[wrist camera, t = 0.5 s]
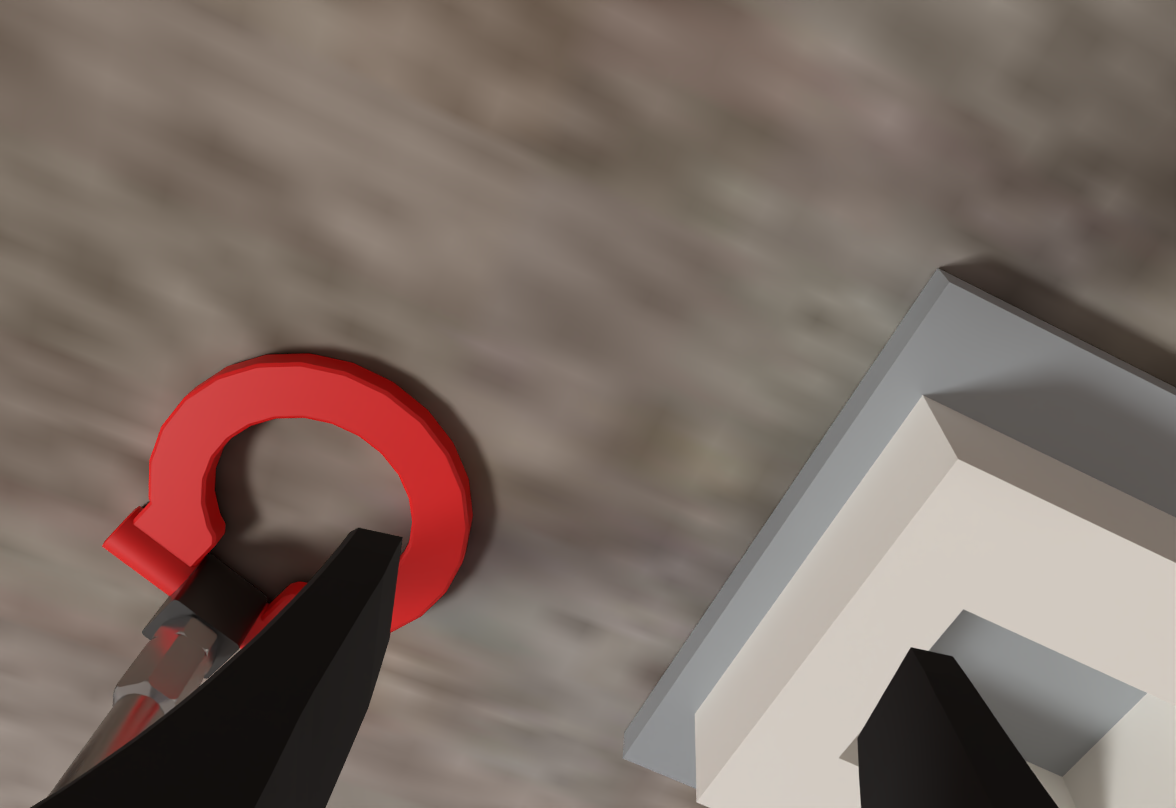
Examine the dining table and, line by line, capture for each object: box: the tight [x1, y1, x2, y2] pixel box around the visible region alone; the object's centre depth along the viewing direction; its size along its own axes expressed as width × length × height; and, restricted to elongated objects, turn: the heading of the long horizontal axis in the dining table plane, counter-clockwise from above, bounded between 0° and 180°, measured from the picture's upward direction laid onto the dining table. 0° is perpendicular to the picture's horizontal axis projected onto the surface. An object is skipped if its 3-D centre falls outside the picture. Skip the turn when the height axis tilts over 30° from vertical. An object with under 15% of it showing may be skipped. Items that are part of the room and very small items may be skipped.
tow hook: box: [48, 353, 473, 797], centre depth 20 cm, size 8×13×9 cm
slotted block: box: [623, 268, 1176, 808], centre depth 23 cm, size 16×14×4 cm
